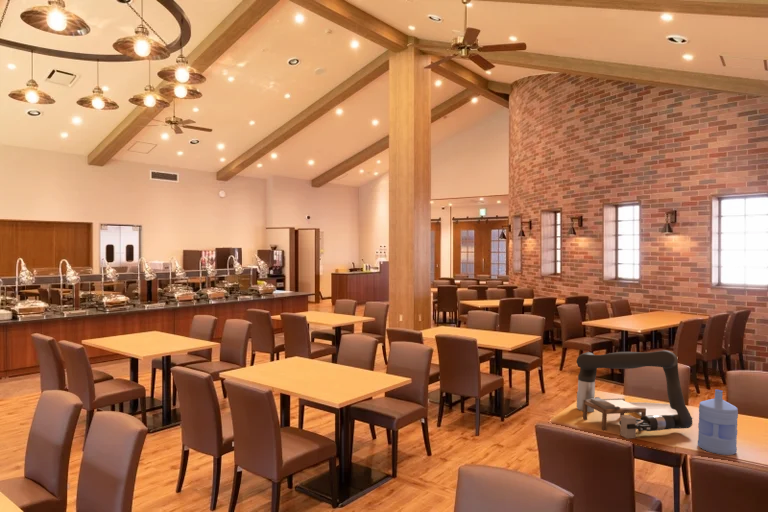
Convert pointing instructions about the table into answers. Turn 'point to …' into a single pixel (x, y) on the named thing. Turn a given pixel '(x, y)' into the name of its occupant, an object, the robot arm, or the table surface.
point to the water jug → (718, 425)
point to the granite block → (623, 430)
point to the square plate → (655, 408)
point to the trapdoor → (612, 403)
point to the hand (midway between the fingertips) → (623, 424)
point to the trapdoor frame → (610, 410)
